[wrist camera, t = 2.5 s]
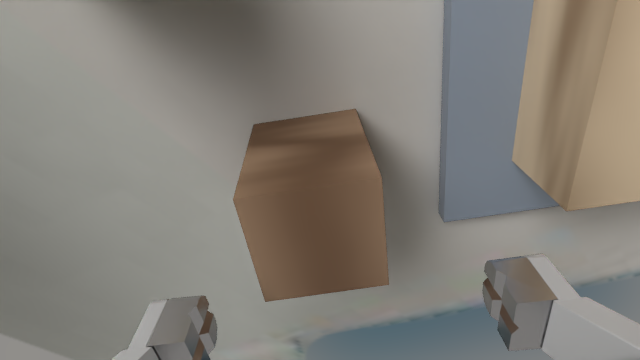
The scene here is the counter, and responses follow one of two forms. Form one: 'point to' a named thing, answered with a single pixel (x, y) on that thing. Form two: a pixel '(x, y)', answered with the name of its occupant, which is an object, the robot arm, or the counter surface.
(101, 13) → the counter surface
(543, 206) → the board
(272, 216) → the walnut block
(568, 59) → the oak plinth
